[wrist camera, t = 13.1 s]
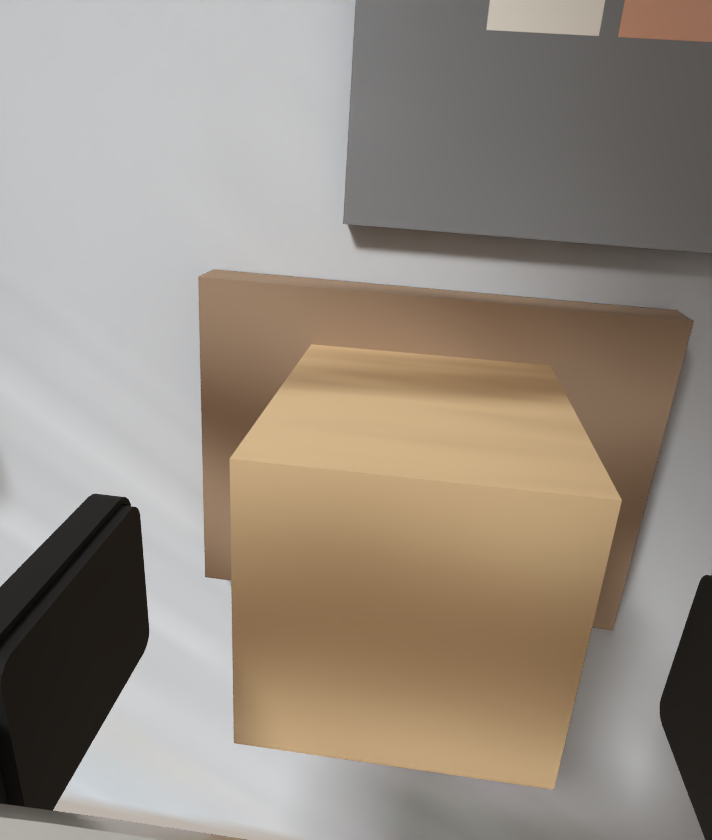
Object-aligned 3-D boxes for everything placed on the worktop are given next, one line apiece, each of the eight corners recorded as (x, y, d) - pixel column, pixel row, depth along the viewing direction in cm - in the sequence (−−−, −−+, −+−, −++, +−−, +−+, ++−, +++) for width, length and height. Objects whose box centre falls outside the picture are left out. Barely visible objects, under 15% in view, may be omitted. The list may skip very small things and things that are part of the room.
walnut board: (213, 269, 18) (198, 276, 17) (676, 310, 17) (693, 321, 16) (217, 554, 21) (205, 577, 20) (603, 604, 20) (612, 630, 19)
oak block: (310, 344, 17) (229, 458, 10) (550, 365, 16) (621, 499, 10) (304, 545, 19) (233, 743, 13) (514, 569, 19) (554, 790, 12)
